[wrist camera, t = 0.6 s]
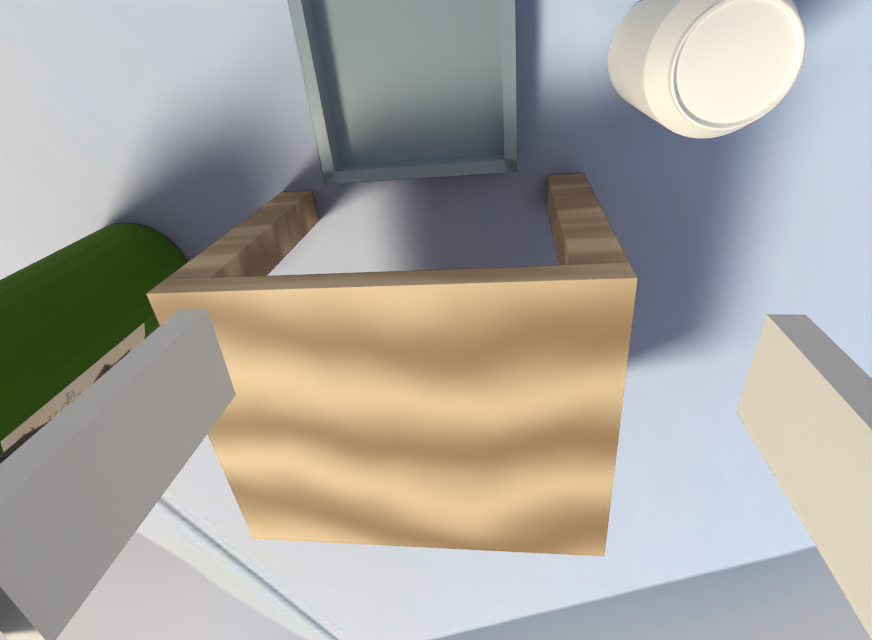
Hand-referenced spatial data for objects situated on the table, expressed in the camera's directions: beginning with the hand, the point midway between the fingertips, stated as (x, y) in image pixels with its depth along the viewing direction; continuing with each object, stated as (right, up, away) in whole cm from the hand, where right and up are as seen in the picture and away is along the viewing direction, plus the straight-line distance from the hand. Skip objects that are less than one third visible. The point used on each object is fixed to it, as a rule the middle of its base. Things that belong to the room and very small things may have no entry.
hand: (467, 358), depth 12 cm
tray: (-3, +19, +19) cm, 27 cm away
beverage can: (+13, +17, +18) cm, 28 cm away
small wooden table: (-1, +3, +28) cm, 28 cm away
